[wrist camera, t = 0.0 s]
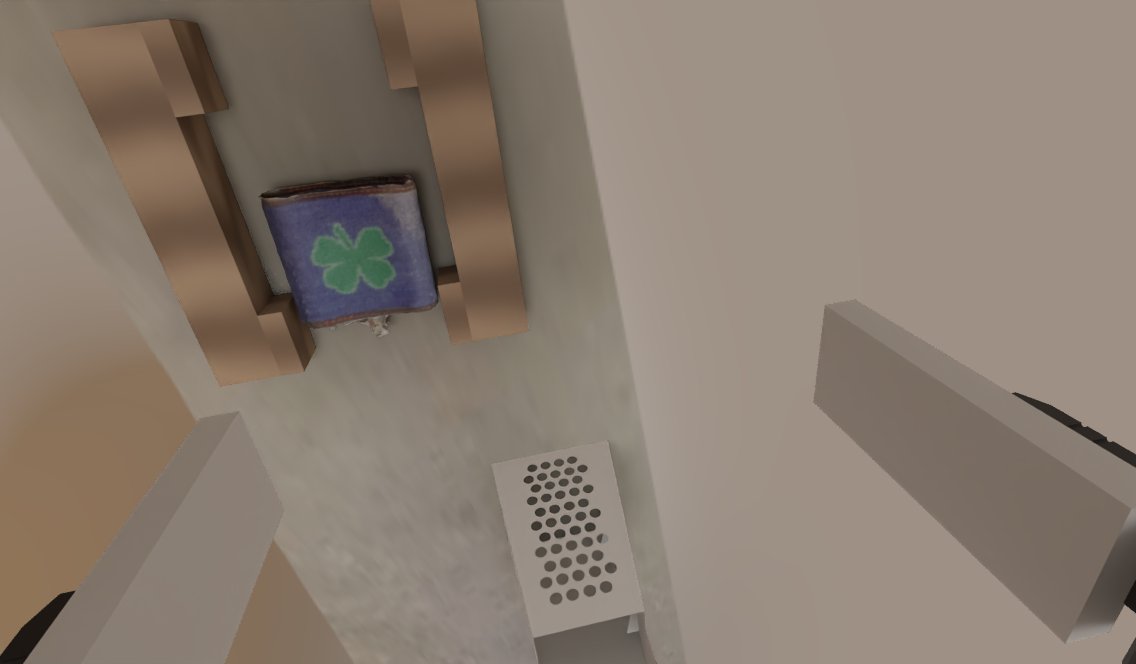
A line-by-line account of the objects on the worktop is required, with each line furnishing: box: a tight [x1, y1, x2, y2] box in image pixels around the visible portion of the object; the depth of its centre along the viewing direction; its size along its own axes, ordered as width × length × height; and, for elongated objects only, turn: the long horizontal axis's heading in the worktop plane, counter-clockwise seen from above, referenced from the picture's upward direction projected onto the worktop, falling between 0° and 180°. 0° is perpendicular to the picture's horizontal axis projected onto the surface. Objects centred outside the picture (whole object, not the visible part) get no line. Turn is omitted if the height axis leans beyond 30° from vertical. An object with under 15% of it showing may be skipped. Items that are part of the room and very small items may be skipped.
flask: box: [259, 175, 438, 338], centre depth 37 cm, size 9×3×11 cm
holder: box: [51, 0, 529, 387], centre depth 35 cm, size 21×21×4 cm
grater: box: [491, 440, 657, 664], centre depth 42 cm, size 10×10×20 cm
